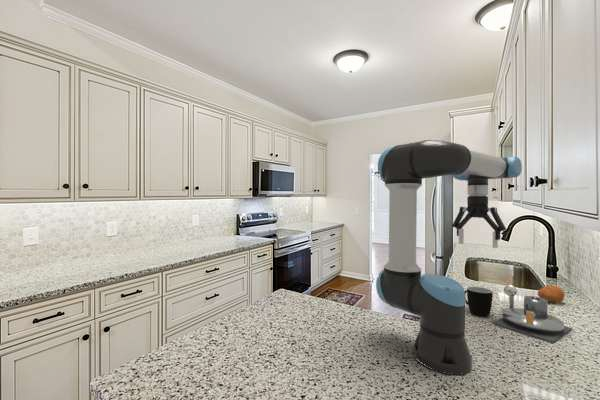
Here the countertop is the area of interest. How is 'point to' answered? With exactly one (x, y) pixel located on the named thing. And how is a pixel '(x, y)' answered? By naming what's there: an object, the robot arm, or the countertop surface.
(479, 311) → the mug
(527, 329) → the turntable base
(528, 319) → the turntable
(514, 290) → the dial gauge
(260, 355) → the countertop surface
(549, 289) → the potato
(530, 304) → the cover
